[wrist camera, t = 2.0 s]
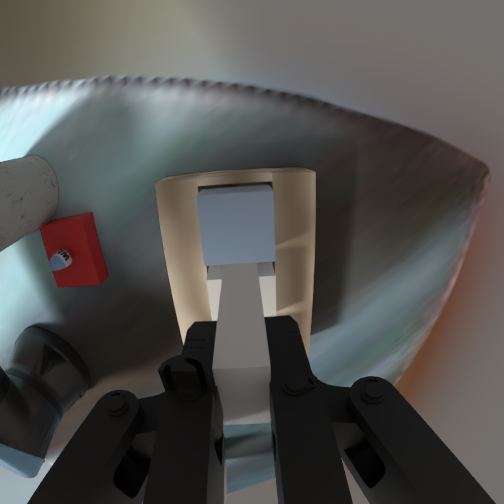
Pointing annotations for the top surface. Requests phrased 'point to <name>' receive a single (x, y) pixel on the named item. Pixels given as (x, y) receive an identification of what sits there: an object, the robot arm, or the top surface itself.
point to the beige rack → (286, 239)
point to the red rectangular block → (74, 251)
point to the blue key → (237, 224)
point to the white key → (266, 286)
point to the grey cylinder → (25, 197)
